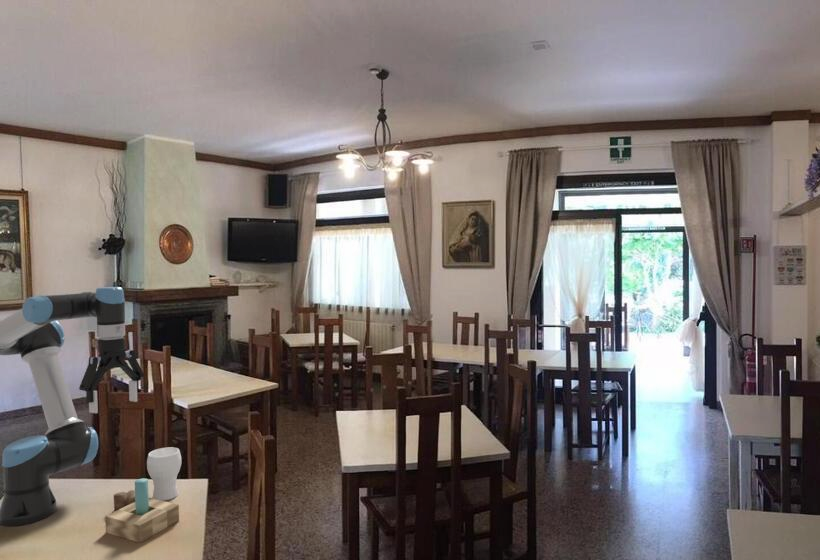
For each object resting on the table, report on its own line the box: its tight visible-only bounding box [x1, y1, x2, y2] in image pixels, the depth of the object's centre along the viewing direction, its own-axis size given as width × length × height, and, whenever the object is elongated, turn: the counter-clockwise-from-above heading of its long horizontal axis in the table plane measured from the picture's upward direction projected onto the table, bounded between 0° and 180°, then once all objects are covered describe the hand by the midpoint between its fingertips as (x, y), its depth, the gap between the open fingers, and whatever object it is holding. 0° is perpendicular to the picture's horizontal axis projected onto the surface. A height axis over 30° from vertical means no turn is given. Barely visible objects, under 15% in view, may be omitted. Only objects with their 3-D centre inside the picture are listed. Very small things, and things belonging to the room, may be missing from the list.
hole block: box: [104, 497, 180, 543], centre depth 167 cm, size 14×14×5 cm
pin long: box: [134, 477, 150, 516], centre depth 166 cm, size 4×4×14 cm
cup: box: [146, 446, 182, 502], centre depth 187 cm, size 11×11×15 cm
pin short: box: [113, 491, 128, 512], centre depth 178 cm, size 4×4×5 cm
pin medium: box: [126, 489, 135, 505], centre depth 181 cm, size 4×4×8 cm
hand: (114, 406), depth 171 cm, fingers open, 13 cm apart
